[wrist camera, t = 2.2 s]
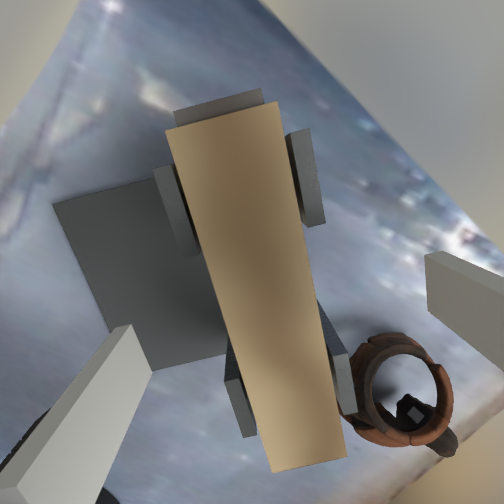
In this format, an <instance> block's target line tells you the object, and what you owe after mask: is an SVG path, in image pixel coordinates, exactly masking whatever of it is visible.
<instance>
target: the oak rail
mask: <svg viewBox="0 0 504 504" xmlns="http://www.w3.org/2000/svg"><path fill="white" fill-rule="evenodd" d="M173 113H174V116H175V120H176V123H177V126H178V127H177V128H173V129H170V130H166V131H165V133H166V136H167V139H168V143H169V146H170V149H171V152H172V155H173V158H174V162H175V165H176V168H177V171H178V174H179V178H180V181H181V184H182V187H183V190H184V193H185V197H186V200H187V203H188V206H189V209H190V213H191V216H192V219H193V222H194V225H195V228H196V232H197V235H198V238H199V241H200V244H201V248H202V251H203V254H204V257H205V260H206V264H207V267H208V270H209V273H210V276H211V279H212V283H213V286H214V289H215V292H216V295H217V299H218V302H219V305H220V308H221V311H222V314H223V318H224V321H225V324H226V327H227V330H228V334H229V337H230V340H231V343H232V346H233V349H234V353H235V356H236V359H237V362H238V365H239V369H240V372H241V375H242V378H243V381H244V385H245V388H246V391H247V394H248V397H249V400H250V404H251V407H252V410H253V413H254V416H255V420H256V423H257V426H258V429H259V432H260V435H261V439H262V442H263V445H264V448H265V451H266V455H267V458H268V461H269V464H270V467H271V470H272V473H275V472H280V471H281V472H282V471H286V470H291V469H295V468H300V467H304V466H309V465H313V464H318V463H322V462H327V461H331V460H336V459H339V458H343V457H347V451H346V446H345V441H344V436H343V431H342V426H341V421H340V416H339V411H338V406H337V401H336V396H335V391H334V386H333V381H332V375H331V370H330V365H329V360H328V355H327V350H326V345H325V340H324V335H323V330H322V325H321V320H320V315H319V310H318V305H317V299H316V294H315V289H314V284H313V279H312V274H311V269H310V264H309V259H308V254H307V249H306V244H305V239H304V234H303V228H302V223H301V218H300V213H299V208H298V203H297V198H296V193H295V188H294V183H293V178H292V173H291V168H290V163H289V158H288V152H287V147H286V142H285V137H284V132H283V127H282V122H281V117H280V112H279V107H278V102H277V101H275V102H271V103H267V104H264V99H263V95H262V90H261V88H258V89H255V90H251V91H247V92H243V93H240V94H236V95H232V96H229V97H225V98H221V99H217V100H214V101H210V102H206V103H202V104H199V105H195V106H191V107H188V108H184V109H180V110H176V111H173Z"/></svg>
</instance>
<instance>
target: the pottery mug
mask: <svg viewBox="0 0 504 504" xmlns="http://www.w3.org/2000/svg"><path fill="white" fill-rule="evenodd" d="M367 341H368V343H362V344H361V345H360V346H359V347H358V349H357V351H356V352H355V353H354V355H353V356H352V357H351V358H350V359H349V362H350V368H351V374H352V379H353V383H354V384H355V387H354V391H355V397H356V403H357V409H358V412H356V413H352V414H348V415H344V414H343V412H342V409H341V407H340V405H339V402H338V401H337V400H336V401H337V406H338V411H339V414H340V415H341V416H342V417H343V418H344V419H345V420H346V421H348V422H349V423H350V424H351V425H352V426H353V427H354V430H355V431H356V433H357V434H359V435H360V436H361V437H363V438H364V439H366V440H368V441H370V442H373V443H375V444H378V445H381V446H386V447H405V446H409V445H411V446H420V445H426V446H427V447H429V448H431V449H433V450H434V451H435V452H436V453H438V454H439V455H440V456H444V457H447V458H448V457H452V456H454V455H455V452H456V449H457V448H458V440H457V437H456V435H455V434H454V433H453V431H452V430H451V429H450V428H449V427H448V424H449V423H450V419H451V417H452V412H453V403H454V398H453V391H452V385H451V382H450V379H449V377H448V375H447V373H446V371H445V369H444V368H443V366H442V365H440V364H435V363H434V362H433V360H432V359H431V358H430V357H429V355H428V354H427V352H426V351H425V350H424V348H423V347H422V346H421V345H419V344H418V343H417V342H416V341H415V340H413V339H412V338H410V337H408V336H406V335H405V334H403V333H383V334H379V335H375V336H372V337H369V338H368V340H367ZM397 354H409V355H413V356H415V357H417V358H419V359H422V360H423V361H424V362H425V363H426V364H427V366H428V368H429V370H430V371H431V373H432V375H433V378H434V380H435V383H436V388H437V404H436V407H432V406H430V405H428V404H424V403H422V402H421V401H419V400H418V399H417V398H414V397H412V396H411V395H410V394H406V395H404V397H403V398H402V399H401V400H399V401H398V402H397V404H396V405H397V411H396V418H395V417H394V416H393V415H392V414H391V413H390V412H389V411H387V410H386V409H385V408H384V406H383V405H382V404H381V403H378V404H377V405H374V401H373V397H372V383H373V378H374V376H375V374H376V371H377V369H378V368H379V366H380V365H381V363H382V362H384V361H385V360H386V359H388V358H389V357H391V356H394V355H397Z"/></svg>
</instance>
